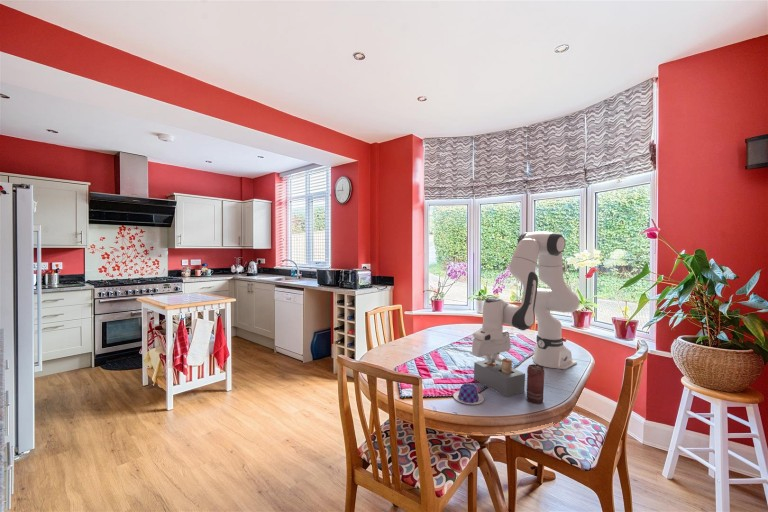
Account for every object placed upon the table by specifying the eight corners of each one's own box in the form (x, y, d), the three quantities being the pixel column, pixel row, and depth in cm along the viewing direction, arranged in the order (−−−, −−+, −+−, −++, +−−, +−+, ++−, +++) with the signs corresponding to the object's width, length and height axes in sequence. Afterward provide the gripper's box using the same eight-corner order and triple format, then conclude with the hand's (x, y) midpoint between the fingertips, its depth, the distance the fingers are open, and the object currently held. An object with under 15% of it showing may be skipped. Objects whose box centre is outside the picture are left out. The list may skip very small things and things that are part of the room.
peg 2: (506, 374, 145) (506, 357, 145) (513, 378, 142) (514, 360, 141) (499, 376, 144) (500, 359, 143) (506, 379, 140) (507, 362, 140)
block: (491, 375, 158) (492, 358, 158) (524, 391, 141) (525, 373, 140) (473, 379, 153) (474, 362, 153) (505, 397, 136) (506, 378, 136)
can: (523, 397, 136) (524, 363, 136) (537, 396, 137) (539, 363, 136) (530, 404, 130) (532, 369, 130) (546, 404, 131) (547, 369, 130)
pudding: (448, 393, 139) (448, 381, 139) (473, 390, 142) (473, 378, 142) (462, 408, 128) (462, 394, 127) (489, 404, 131) (490, 391, 131)
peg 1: (490, 377, 154) (491, 361, 153) (497, 380, 150) (497, 364, 150) (484, 379, 152) (484, 363, 151) (490, 382, 148) (491, 366, 148)
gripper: (503, 328, 157) (503, 357, 158) (470, 333, 148) (469, 364, 149) (514, 332, 152) (513, 361, 152) (480, 337, 143) (479, 369, 143)
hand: (491, 362), depth 151 cm, fingers closed
